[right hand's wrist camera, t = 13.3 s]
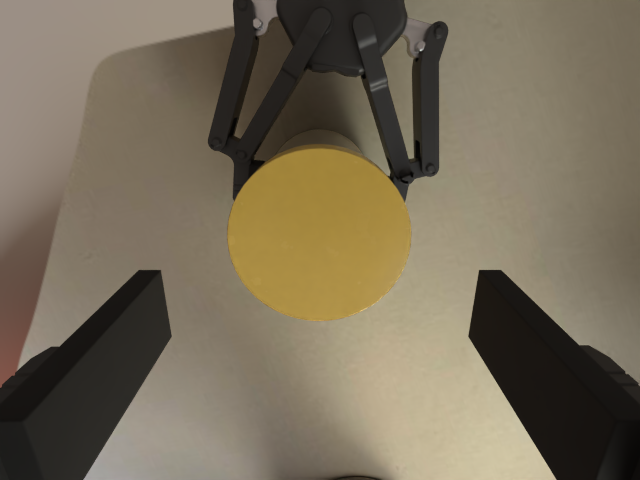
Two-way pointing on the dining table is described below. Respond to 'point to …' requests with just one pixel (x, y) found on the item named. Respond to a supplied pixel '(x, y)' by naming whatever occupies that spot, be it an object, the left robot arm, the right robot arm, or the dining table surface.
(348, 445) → the dining table surface
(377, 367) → the dining table surface
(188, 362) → the dining table surface
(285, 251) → the lid
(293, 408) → the dining table surface
